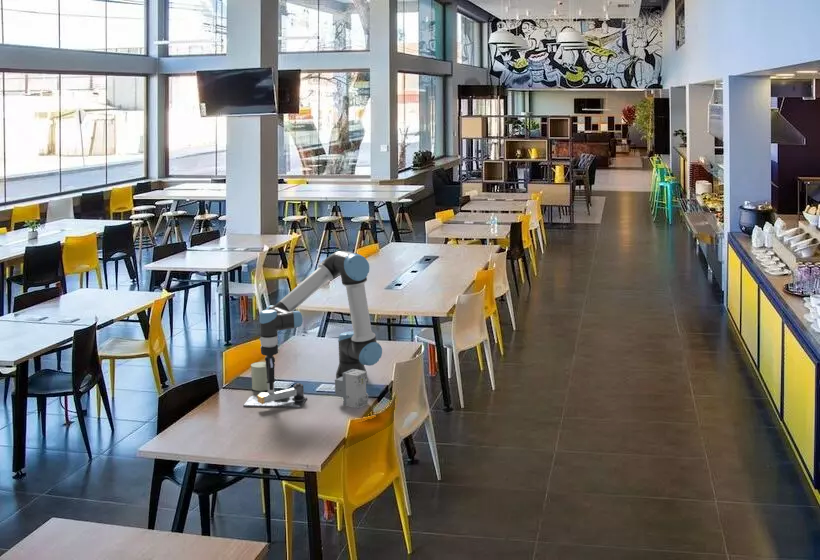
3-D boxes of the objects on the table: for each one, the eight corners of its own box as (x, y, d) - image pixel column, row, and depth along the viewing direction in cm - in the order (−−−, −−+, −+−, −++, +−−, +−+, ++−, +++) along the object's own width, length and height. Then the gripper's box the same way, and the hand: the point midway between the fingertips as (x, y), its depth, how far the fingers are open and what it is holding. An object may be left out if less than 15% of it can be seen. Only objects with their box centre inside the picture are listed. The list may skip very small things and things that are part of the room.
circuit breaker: (343, 398, 427) (342, 366, 424) (368, 403, 419) (367, 371, 416) (332, 402, 421) (331, 370, 418) (358, 408, 413) (357, 375, 410)
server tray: (306, 398, 427) (306, 392, 427) (300, 408, 415) (300, 401, 414) (251, 397, 430) (251, 391, 430) (243, 406, 418) (243, 400, 417)
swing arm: (300, 395, 428) (300, 381, 426) (305, 397, 424) (305, 383, 423) (257, 405, 415) (257, 391, 413) (262, 408, 411) (261, 393, 410)
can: (262, 392, 438) (261, 367, 435) (247, 389, 442) (246, 364, 440) (275, 386, 445) (274, 362, 443) (260, 383, 450) (259, 359, 448)
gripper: (259, 341, 419) (261, 392, 423) (262, 349, 406) (264, 401, 411) (275, 340, 420) (277, 390, 425) (279, 348, 408) (281, 399, 413)
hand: (271, 395), depth 418 cm, fingers closed
